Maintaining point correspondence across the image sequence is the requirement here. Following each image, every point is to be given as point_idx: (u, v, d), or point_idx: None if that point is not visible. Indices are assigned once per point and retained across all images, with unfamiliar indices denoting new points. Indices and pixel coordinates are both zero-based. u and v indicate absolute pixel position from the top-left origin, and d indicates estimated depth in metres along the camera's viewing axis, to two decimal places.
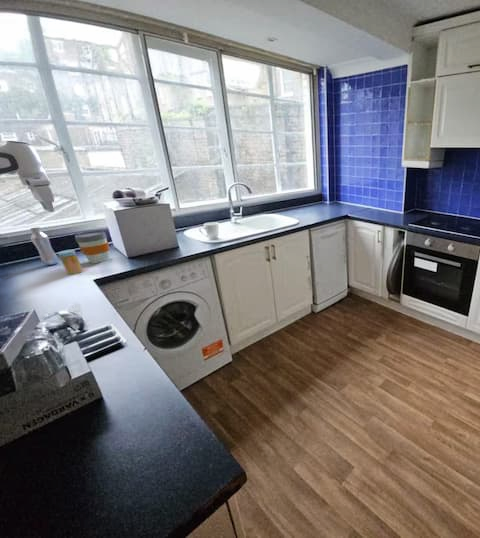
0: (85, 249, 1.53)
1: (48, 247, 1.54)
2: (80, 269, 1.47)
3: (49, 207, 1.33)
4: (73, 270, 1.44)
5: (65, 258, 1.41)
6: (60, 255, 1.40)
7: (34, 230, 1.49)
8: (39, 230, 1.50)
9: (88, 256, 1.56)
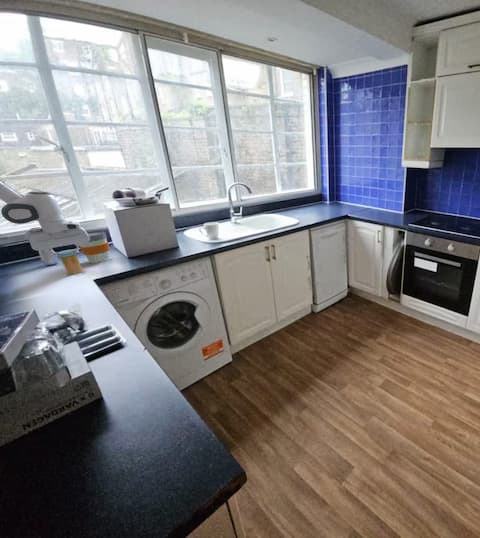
0: (85, 249, 1.53)
1: None
2: (80, 269, 1.47)
3: None
4: (73, 270, 1.44)
5: (65, 258, 1.41)
6: (60, 255, 1.40)
7: None
8: None
9: (88, 256, 1.56)
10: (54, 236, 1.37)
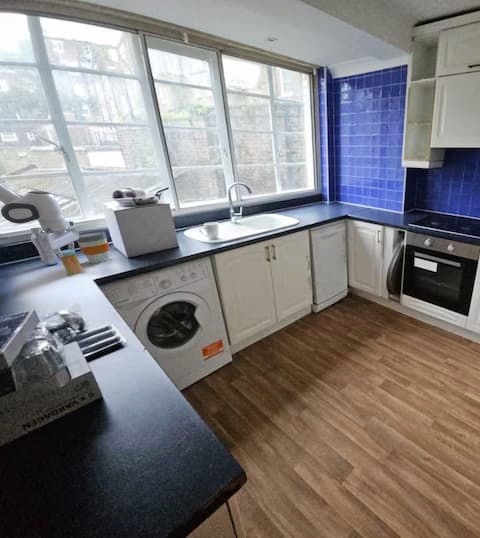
0: (85, 249, 1.53)
1: None
2: (80, 269, 1.47)
3: None
4: (73, 270, 1.44)
5: (65, 258, 1.41)
6: (68, 253, 1.41)
7: (34, 230, 1.49)
8: (39, 230, 1.50)
9: (88, 256, 1.56)
10: (60, 235, 1.38)
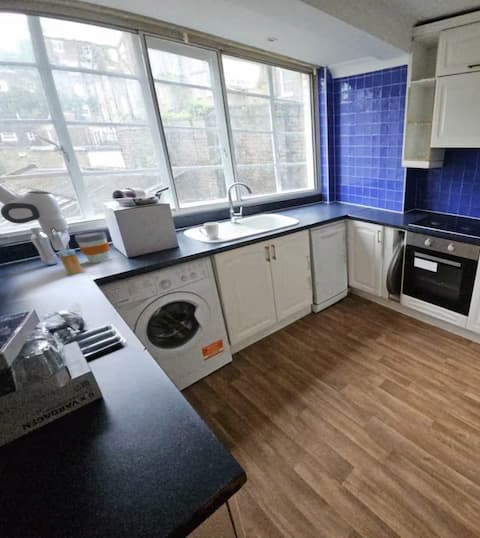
0: (85, 249, 1.53)
1: (48, 247, 1.54)
2: (80, 269, 1.47)
3: None
4: (73, 270, 1.44)
5: (65, 258, 1.41)
6: (72, 252, 1.42)
7: (34, 230, 1.49)
8: (39, 230, 1.50)
9: (88, 256, 1.56)
10: (62, 234, 1.39)
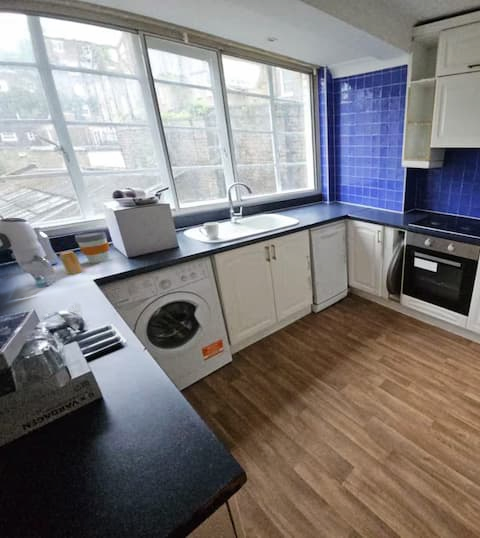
0: (85, 249, 1.53)
1: (48, 247, 1.54)
2: (80, 269, 1.47)
3: None
4: (73, 270, 1.44)
5: (65, 258, 1.41)
6: (53, 281, 1.35)
7: (34, 230, 1.49)
8: (39, 230, 1.50)
9: (88, 256, 1.56)
10: None
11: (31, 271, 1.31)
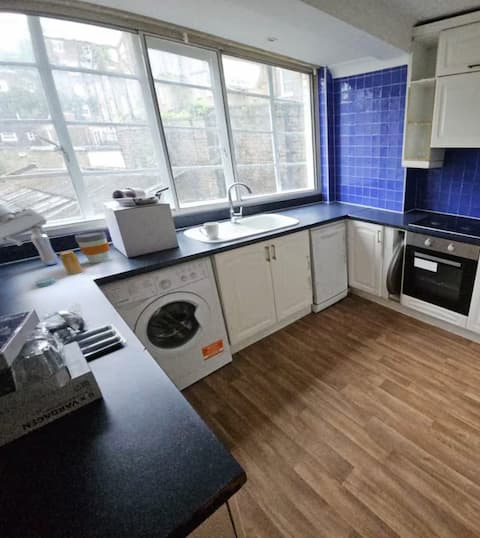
0: (85, 249, 1.53)
1: (48, 247, 1.54)
2: (80, 269, 1.47)
3: (13, 242, 1.25)
4: (73, 270, 1.44)
5: (65, 258, 1.41)
6: (53, 281, 1.35)
7: (34, 230, 1.49)
8: (39, 230, 1.50)
9: (88, 256, 1.56)
10: None
11: (14, 228, 1.26)
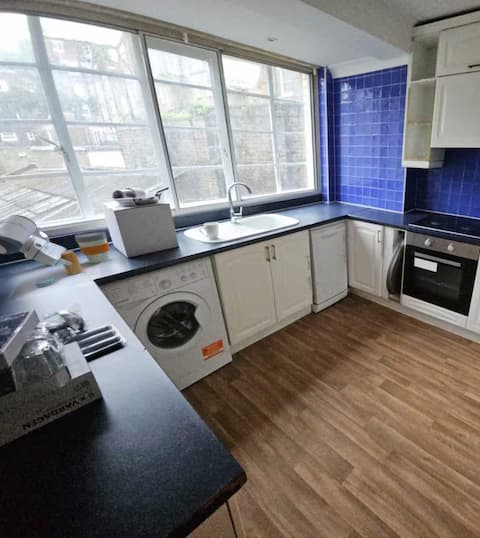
0: (85, 249, 1.53)
1: None
2: (80, 269, 1.47)
3: (64, 263, 1.40)
4: (73, 270, 1.44)
5: (65, 258, 1.41)
6: (53, 281, 1.35)
7: None
8: (39, 230, 1.50)
9: (88, 256, 1.56)
10: None
11: (58, 253, 1.40)
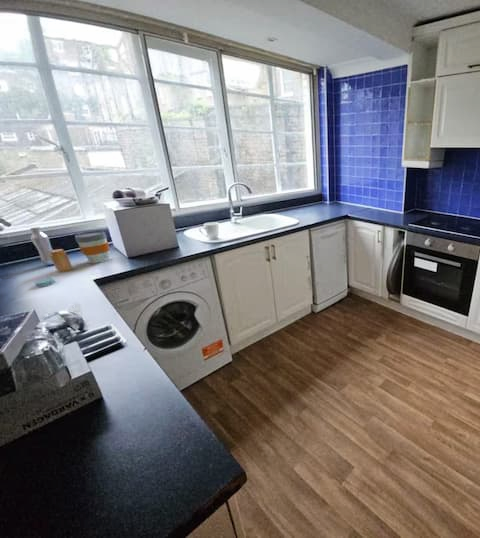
0: (85, 249, 1.53)
1: (48, 247, 1.54)
2: (70, 267, 1.50)
3: None
4: (63, 267, 1.47)
5: (55, 256, 1.44)
6: (53, 281, 1.35)
7: (34, 230, 1.49)
8: (39, 230, 1.50)
9: (88, 256, 1.56)
10: None
11: None
